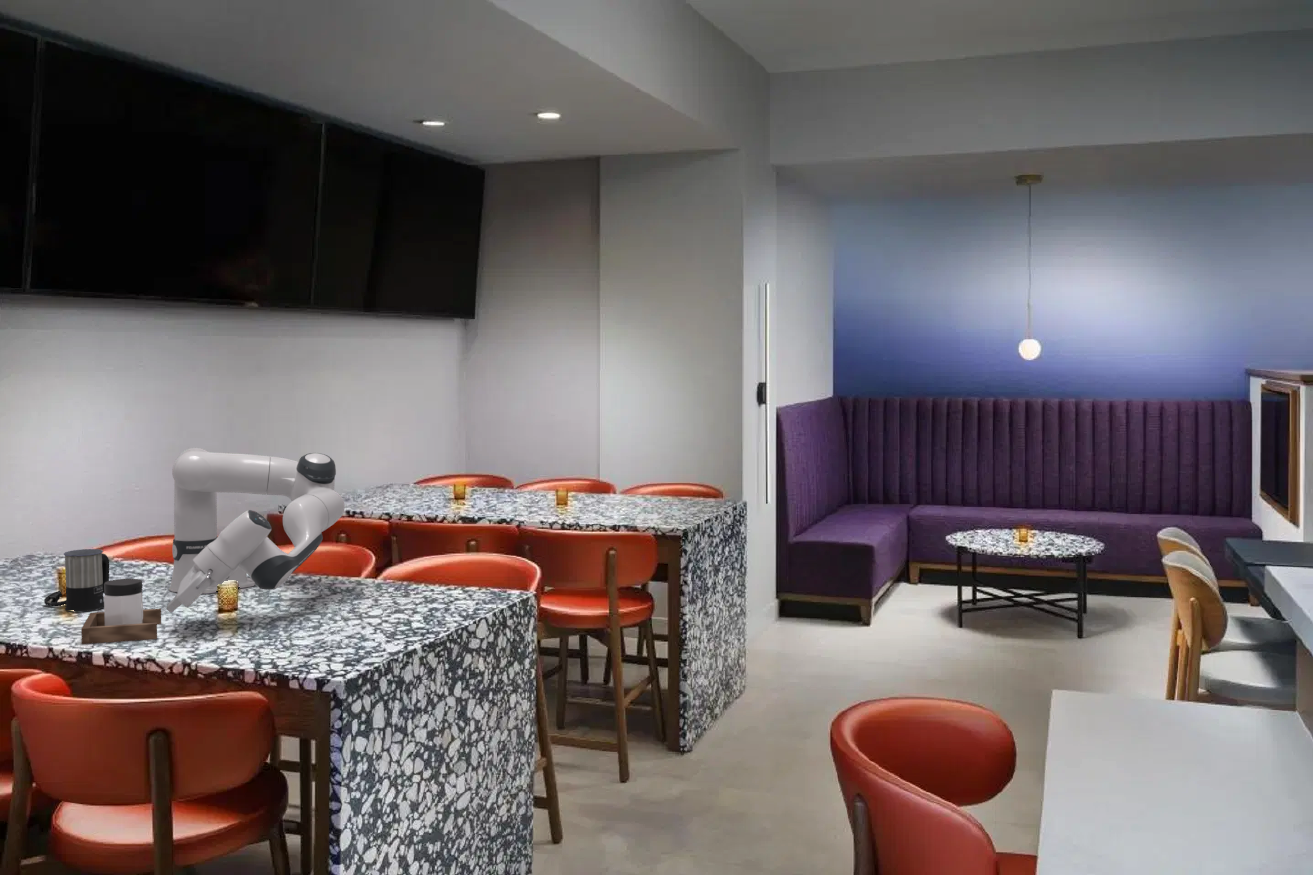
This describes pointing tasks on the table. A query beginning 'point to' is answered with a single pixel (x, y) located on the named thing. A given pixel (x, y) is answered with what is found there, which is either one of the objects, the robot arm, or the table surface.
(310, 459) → the robot arm
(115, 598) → the jar
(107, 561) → the milk frother
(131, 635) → the brown square open piece
